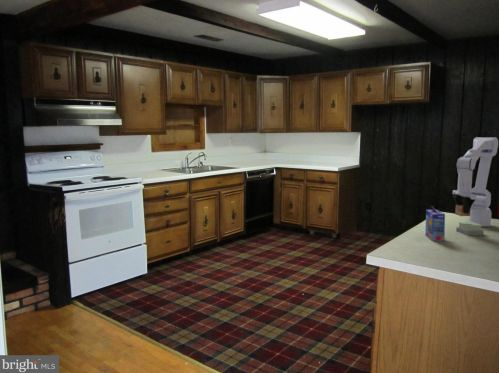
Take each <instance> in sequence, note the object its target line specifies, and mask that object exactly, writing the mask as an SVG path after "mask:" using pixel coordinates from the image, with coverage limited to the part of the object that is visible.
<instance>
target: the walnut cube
mask: <svg viewBox="0 0 499 373" xmlns="http://www.w3.org/2000/svg"><path fill="white" fill-rule="evenodd" d="M470 211H471V208H470ZM470 211H469V213H464V210H463V205H456V204H455V209H454V212H455V215H457V216H460V217H469V216H470Z"/></svg>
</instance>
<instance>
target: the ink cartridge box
mask: <svg viewBox="0 0 499 373" xmlns="http://www.w3.org/2000/svg"><path fill="white" fill-rule="evenodd" d="M430 207H431V209H426V210H425V236H426V237H427V238H428V239H429V240H431V241H432V242H444V241H445V236H446V235H445V234H446V232H445V229H446V228H445V226H446V224H445V222H446V214H445V213H444V212H442V211H440V210H439V209H435V207H434V206H432V205H430Z"/></svg>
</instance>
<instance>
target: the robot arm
mask: <svg viewBox="0 0 499 373" xmlns="http://www.w3.org/2000/svg"><path fill="white" fill-rule="evenodd" d="M472 142H473V143H472V148H470V149H468V150H467V152H465V154H464V155H463V156H460V157H459V158H457V161H456V169H457V170H456V171H457V172H456V173H457V174H458V177H457V189H456V190H455V189H453V190H452V199H453V200H454V202H455V203H454V204H455V206H456V205H463V210H464V213H469V211H470V208H471V211H470V216H468V222H474V223H477V224H480V225H482V226H481V228H482V227H492V210H491V208H489V207H490V205H491V202H492V201H491V200H492V197H491V196H492V193H491V192H490V191H489V190H488V189H486V188H487V185H488V184H487V183H488V178H489V174H490V169H491V164H492V159H493V157H494V156H496V155H497V153H498V148H499V139H498V138H497V137H496V136H495V137H478V136H476V137H474V138H473V141H472ZM479 158H480V159H479ZM478 160H479V164H478V169H477V174H476V180H475V186H474V187H473V188H472V184H473V172H474V171H473V170H475V167H476V164H477V161H478Z"/></svg>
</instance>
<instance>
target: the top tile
mask: <svg viewBox="0 0 499 373" xmlns="http://www.w3.org/2000/svg"><path fill="white" fill-rule="evenodd" d="M458 223H459V224H458V227H459V228H462V229H464V230H467V231H478V230H482V227H483V226H482V225H480V224H477V223H474V222H469V221H461V222H458ZM481 226H482V227H481Z"/></svg>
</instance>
